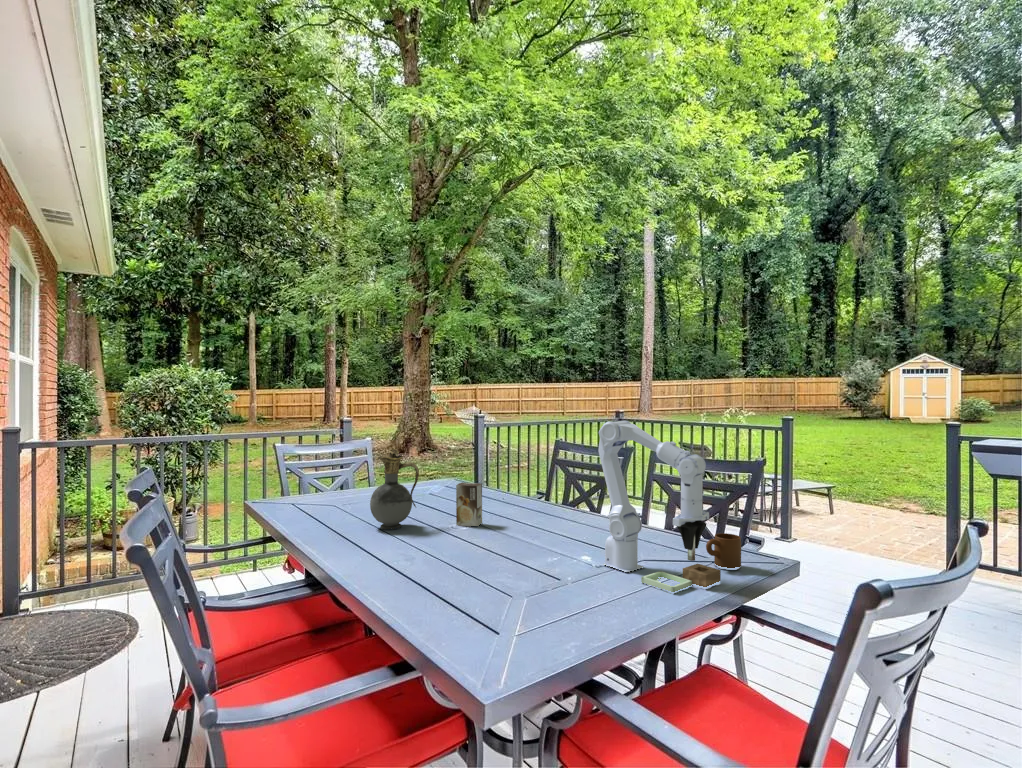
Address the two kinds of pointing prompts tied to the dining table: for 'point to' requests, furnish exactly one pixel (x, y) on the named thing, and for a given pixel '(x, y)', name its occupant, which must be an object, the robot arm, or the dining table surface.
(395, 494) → the pitcher
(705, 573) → the walnut block
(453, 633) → the dining table surface
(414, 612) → the dining table surface
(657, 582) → the tray
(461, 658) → the dining table surface
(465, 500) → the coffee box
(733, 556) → the mug
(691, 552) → the pin
